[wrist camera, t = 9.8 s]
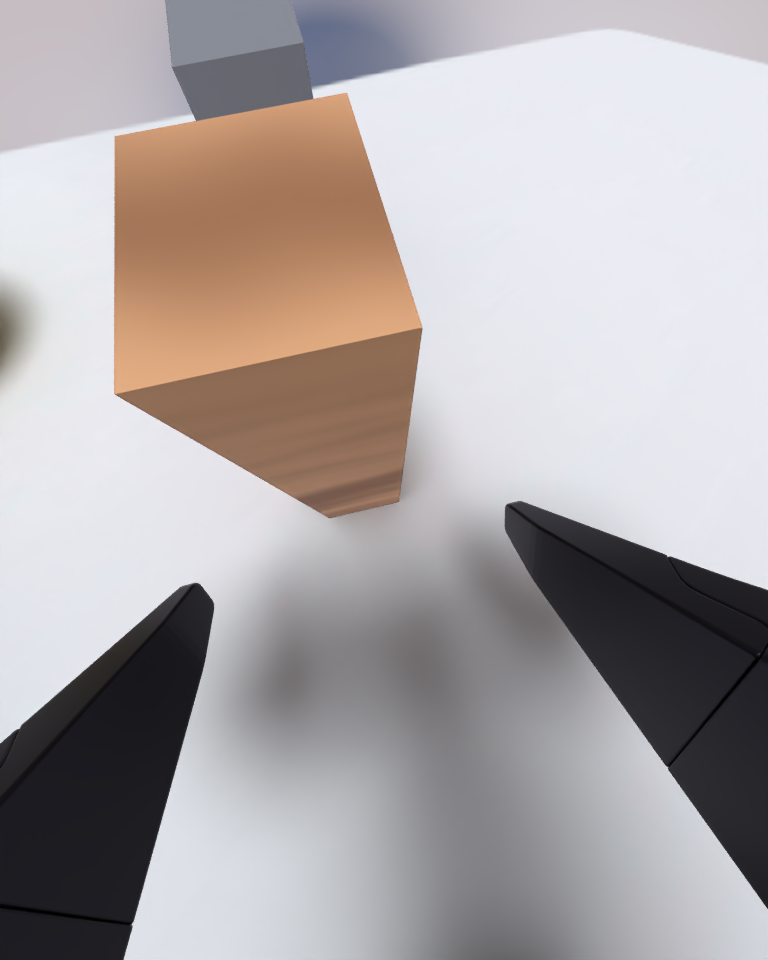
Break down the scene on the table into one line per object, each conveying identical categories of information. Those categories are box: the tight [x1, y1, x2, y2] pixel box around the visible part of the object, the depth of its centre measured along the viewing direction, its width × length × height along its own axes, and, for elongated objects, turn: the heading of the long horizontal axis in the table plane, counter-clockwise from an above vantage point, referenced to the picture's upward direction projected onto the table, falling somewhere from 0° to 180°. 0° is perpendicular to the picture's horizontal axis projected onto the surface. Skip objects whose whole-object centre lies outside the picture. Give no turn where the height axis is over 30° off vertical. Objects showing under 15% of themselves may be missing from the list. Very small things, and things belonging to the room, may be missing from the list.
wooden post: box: [114, 93, 422, 518], centre depth 11 cm, size 5×4×13 cm
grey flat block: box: [165, 0, 313, 121], centre depth 15 cm, size 10×4×11 cm, turn 14°
